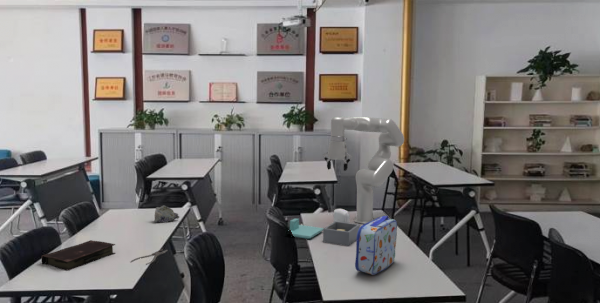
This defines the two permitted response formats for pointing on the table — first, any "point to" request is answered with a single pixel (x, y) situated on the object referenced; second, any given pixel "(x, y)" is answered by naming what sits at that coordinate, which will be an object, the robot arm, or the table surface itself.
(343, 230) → the tub
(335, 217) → the photo printer
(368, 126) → the robot arm
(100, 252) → the diary
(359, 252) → the lunch box
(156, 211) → the mineral rock
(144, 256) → the pliers
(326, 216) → the table surface
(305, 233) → the lid
